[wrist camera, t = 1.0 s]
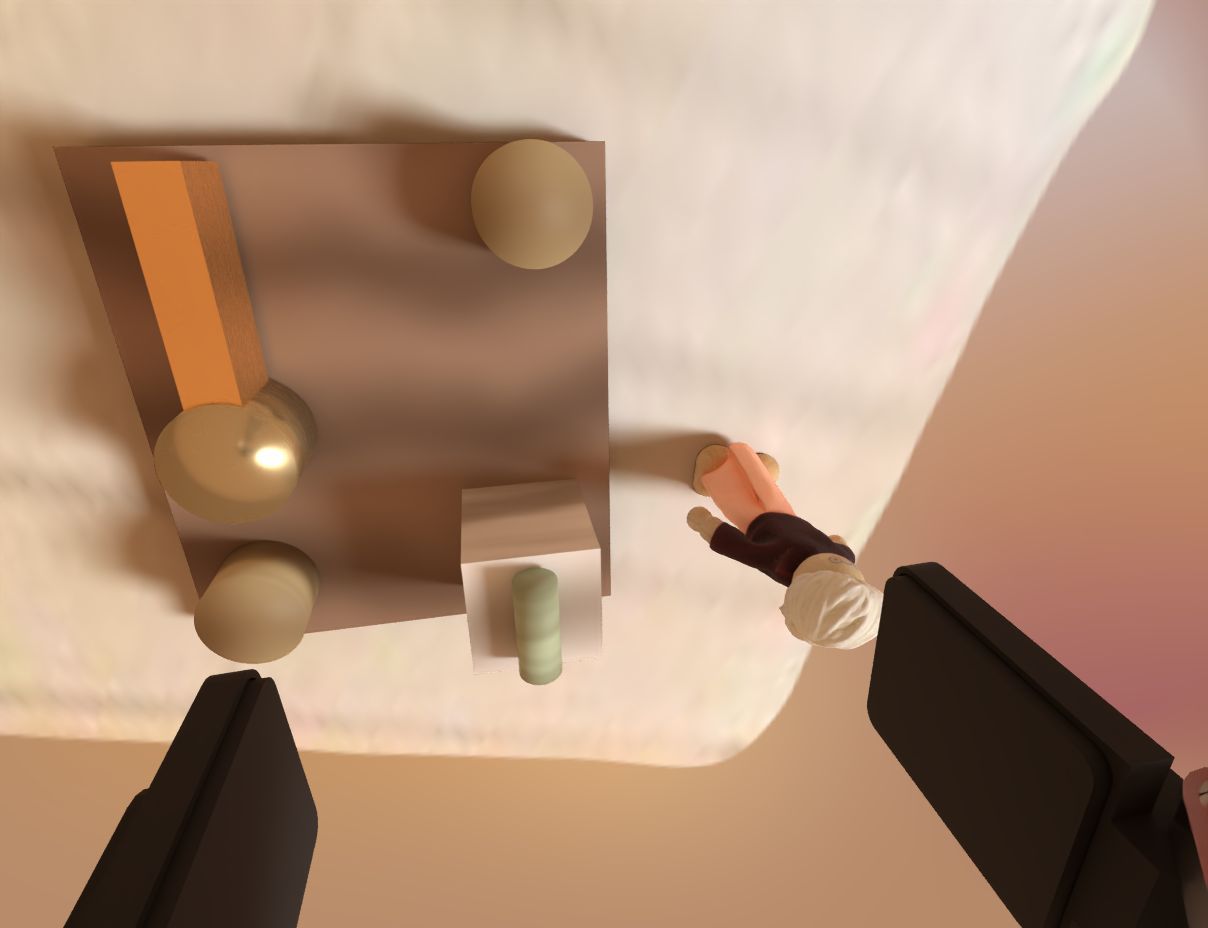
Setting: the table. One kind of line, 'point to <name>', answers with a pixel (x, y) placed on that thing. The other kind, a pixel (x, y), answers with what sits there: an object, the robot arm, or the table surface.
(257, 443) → the orange lever bar
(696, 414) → the table surface
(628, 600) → the table surface
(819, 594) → the grandmother figurine
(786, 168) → the table surface
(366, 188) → the base
